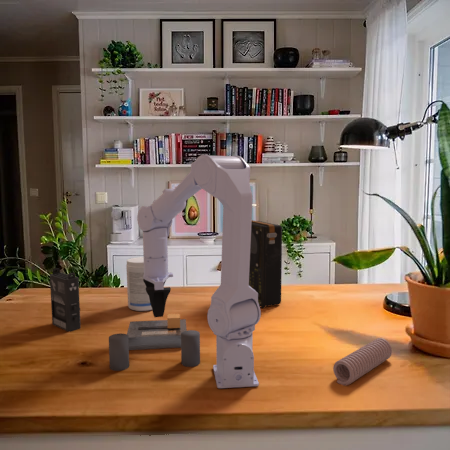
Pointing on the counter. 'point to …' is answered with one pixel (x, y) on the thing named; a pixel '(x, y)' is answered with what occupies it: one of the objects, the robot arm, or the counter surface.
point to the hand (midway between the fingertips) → (157, 311)
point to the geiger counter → (65, 300)
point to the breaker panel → (154, 335)
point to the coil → (362, 361)
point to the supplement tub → (137, 285)
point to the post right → (190, 348)
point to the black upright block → (266, 262)
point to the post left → (118, 352)
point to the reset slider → (173, 320)
